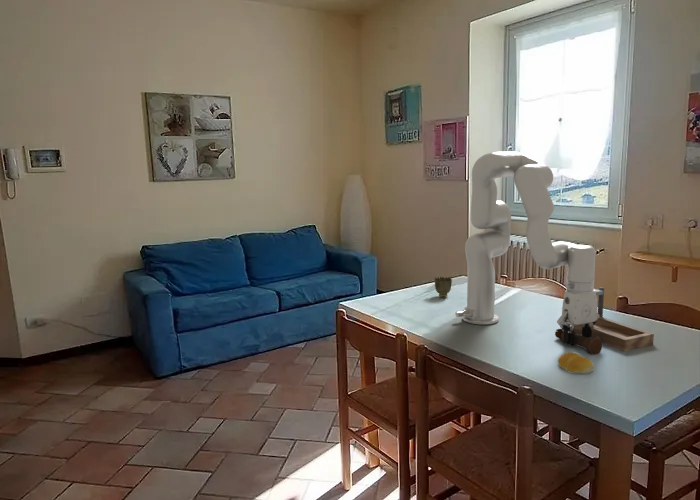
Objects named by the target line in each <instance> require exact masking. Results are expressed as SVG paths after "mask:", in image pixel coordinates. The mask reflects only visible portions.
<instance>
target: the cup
mask: <svg viewBox="0 0 700 500" xmlns="http://www.w3.org/2000/svg"><path fill="white" fill-rule="evenodd" d="M433 280H434V281H433V282H434V288H435V289H434V290H435V291H436V293H438V296H439V298H447V297H448V294H449V293H450V292H451V290H452V282H453V278H451V277H450V276H448V277H447V276H445V277H444V276H438V277H436V276H435V277H434V279H433Z"/></svg>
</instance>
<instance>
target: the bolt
mask: <svg viewBox="0 0 700 500" xmlns="http://www.w3.org/2000/svg"><path fill="white" fill-rule="evenodd" d="M572 333H573V345H575V346H578V347H581V348H584V349H585V351H586V352H587V354H589V355H598V354H600V352H602V350H603V343H602V341H601V339H600V338H599V337H597V336H593V337H588V338H587V337H584V336H582V335H580V334H578V333H575V331H574V330H573V331H572ZM554 336H555V337H556V338H557V339H560V340H561V341H562V342H563V343H564V331H562V328H558V329H556V330H555V332H554Z"/></svg>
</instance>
